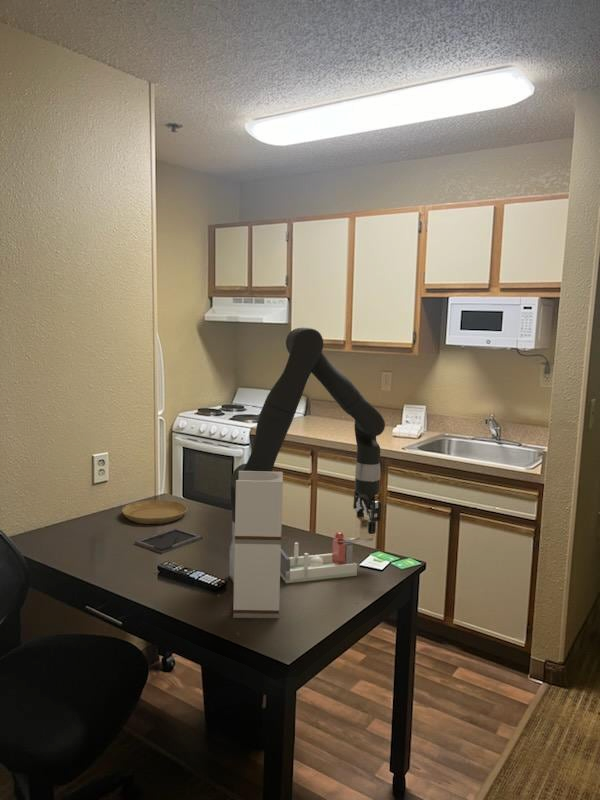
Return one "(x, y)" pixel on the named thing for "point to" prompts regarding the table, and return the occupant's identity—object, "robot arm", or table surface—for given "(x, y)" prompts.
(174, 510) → the plant saucer
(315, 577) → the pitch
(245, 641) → the table surface
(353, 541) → the striker
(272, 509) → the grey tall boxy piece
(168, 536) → the picture frame
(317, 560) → the ball
